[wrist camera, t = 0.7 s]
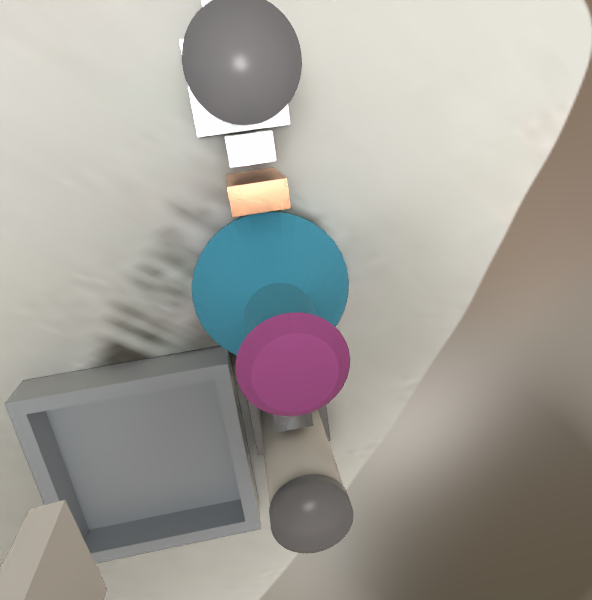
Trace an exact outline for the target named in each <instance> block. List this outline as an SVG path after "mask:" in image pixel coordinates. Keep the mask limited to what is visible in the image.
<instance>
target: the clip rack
mask: <svg viewBox="0 0 592 600" xmlns="http://www.w3.org/2000/svg"><path fill="white" fill-rule="evenodd" d="M210 1H212V0H201V3H202V7H203V6H205V5H206V4H207V3H209V2H210ZM183 41H184V39H179V43H180V48H181V53H182V47H183ZM187 85H188V84H187ZM188 90H189V95H190V101H191V106H192V111H193V116H194V122H195V127H196V132H197V137H204V136H212V135H219V134H226V133H233V132H240V131H247V130H255V129H262V128H269V127H276V126H283V125H290V116H289V108H288V104H287V106H286V107H285V108H284V109H283V110H282V111H281V112H280V113H278V114H277V115H276V116H274V117H273V118H271V119H269V120H267V121H264V122H262V123H258V124H253V125H235V124H230V123H227V122H224V121H222V120H220V119H218V118H216V117H215V116H213V115H212V114H210V113H209V112H208V111H207V110H206V109H204V108H203V107H202V106H201V104H200V103H199V102H198V101H197V100H196V98H195V97H194V95H193V94H192V92H191V90H190V88H189V86H188ZM225 142H226V148H227V154H228V160H229V165H230V168H234V167H241V166H248V165H254V164H261V163H268V162H275V161H277V160H276V153H275V145H274V138H273V131H272V130H259V131H252V132H245V133H237V134H230V135H225ZM227 190H228V196H229V202H230V207H231V213H232V217H237V216H244V215H250V214H257V213H263V212H270V211H276V210H283V209H289V208H291V205H290V197H289V190H288V182H287V178H286V177H285V176H284V175H282V174H281V173H280V172H279V171H278V170H276V169H275V168H274V167H273V168H266V169H260V170H253V171H246V172H239V173H232V174H227ZM247 400H248V399H247ZM248 405H249V410H250V415H251V421H252V426H253V431H254V436H255V442H256V447H257V452H258V455H261V454H264V449H263V440H262V432H261V423H260V418H261V414H262V411H263V410H261V409H259V408H257V407H256V406H255V405H253V404H252V403H251V402H250V401H249V400H248ZM318 411H319V414H320V417H321V420H322V423H323V426H324V430H325V433H326V436H327V439H328V441H330V434H329V426H328V418H327V410H326V405H324V406H323V407H321V408H320V409H318ZM272 415H273V421H274V427H275V433H279V432H284V431H289V430H294V429H299V428H304V427H310V426H313V419H312V412H311V413H308V414H304V415H299V416H278V415H274V414H272Z"/></svg>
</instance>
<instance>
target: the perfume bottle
mask: <svg viewBox="0 0 592 600" xmlns="http://www.w3.org/2000/svg"><path fill="white" fill-rule="evenodd" d="M348 287H349V280H348V273H347V267H346V264H345V261H344V259H343V256H342V254H341V252H340V250H339V249H338V247H337V245H336V244H335V242H334V241H333V240H332V239H331V238H330V237H329V236H328V235H327V234H326V232H325V231H324V230H322V229H321V228H319V227H318V226H316V225H315V224H313V223H312V222H310V221H308V220H306V219H303V218H301V217H299V216H296V215H294V214H289V213H284V212H279V211H270V212H263V213H257V214H250V215H245V216H243V217H241V218H238V219H236V220H234V221H232V222H231V223H229V224H228V225H226V226H225V227H223V228H222V229H220V230H219V231H218V232H217V233H216V234H215V235H214V237H213V238H212V239H211V240H210V241H209V242H208V244H207V245H206V247H205V248H204V250H203V252H202V253H201V255H200V257H199V259H198V262H197V264H196V267H195V269H194V275H193V281H192V298H193V303H194V307H195V311H196V314H197V316H198V318H199V320H200V322H201V324H202V326H203V328H204V329H205V330H206V332H207V333H208V334H209V335H210V337H211V338H212V339H213V340H214V341H215V342H217V343H218V344H219V345H220V346H221V347H223V348H224V349H226V350H228V351H229V352H231V353H233V354H235V355H237V358H236V363H235V371H236V378H237V382H238V385H239V387H240V389H241V391H242V393H243V394H244V395H245V397H246V398H247V399H248V400H249V401H250V402H251V403H252V404H253V405H255V406H256V407H257V408H259V409H261V410H263V411H265V412H267V413H271V414H274V415H278V416H299V415H304V414H308V413H311V412H313V411H315V410H318V409H320V408H321V407H323V406H324V405H326V404H328V403H329V402H330V401H331V400H332V399H333V398H334V397H335V396H336V395H337V394H338V392H339V391H340V390H341V389H342V387H343V385H344V383H345V381H346V379H347V376H348V372H349V367H350V355H349V349H348V346H347V344H346V341H345V339H344V338H343V336H342V335H341V333H340V332H339V330H338V329H336V328H335V326H336V325H337V324H338V322H339V320H340V318H341V316H342V314H343V312H344V309H345V305H346V302H347V298H348Z"/></svg>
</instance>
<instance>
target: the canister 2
mask: <svg viewBox="0 0 592 600" xmlns="http://www.w3.org/2000/svg"><path fill="white" fill-rule="evenodd" d="M312 419H313V426H310V427H304V428H299V429H294V430H289V431H284V432H279V433H275V427H274V421H273V415H272V414H271V413H267V412H265V411H262V414H261V418H260V423H261V432H262V440H263V449H264V457H265V465H266V474H267V482H268V490H269V499H270V509H269V513H270V522H271V530H272V534H273V536H274V538H275V539H276V541H277V542H278V543H279V544H280V545H282V546H283V547H284V548H286V549H288V550H291V551H294V552H298V553H315V552H319V551H323V550H326V549H328V548H330V547H332V546H334V545H335V544H337V543H338V542H339V541H341V540H342V538H344V537H345V535H346V534H347V533H348V531H349V529H350V527H351V525H352V522H353V509H352V506H351V503H350V500H349V497H348V494H347V491H346V490H345V488H344V487H343V484H342V481H341V478H340V475H339V472H338V469H337V466H336V463H335V460H334V457H333V454H332V451H331V448H330V445H329V442H328V439H327V436H326V433H325V430H324V426H323V423H322V420H321V417H320V414H319V411H318V410H315V411H313V412H312Z"/></svg>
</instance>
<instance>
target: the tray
mask: <svg viewBox="0 0 592 600" xmlns="http://www.w3.org/2000/svg"><path fill="white" fill-rule="evenodd" d="M5 406H6V409H7V411H8V414H9V416H10V419H11V421H12V424H13V426H14V429H15V432H16V434H17V437H18V439H19V442H20V444H21V447H22V449H23V452H24V454H25V457H26V459H27V462H28V464H29V467H30V469H31V472H32V475H33V477H34V480H35V482H36V485H37V487H38V490H39V492H40V495H41V497H42V500H43V502H44V505H47V504H51V503H54V502H58V501H62V500H66V503H67V505H68V507H69V509H70V511H71V513H72V515H73V518H74V520H75V522H76V524H77V526H78V528H79V530H80V532H81V535H82V537H83V539H84V541H85V543H86V545H87V547H88V549H89V552H90V554H91V556H92V558H93V560H94V562H95V564H96V563H101V562H106V561H110V560H115V559H120V558H125V557H129V556H134V555H139V554H144V553H149V552H153V551H158V550H163V549H168V548H172V547H177V546H182V545H187V544H192V543H196V542H201V541H206V540H211V539H215V538H220V537H225V536H230V535H235V534H239V533H244V532H249V531H254V530H258V529H261V524H260V513H259V502H258V496H257V491H256V486H255V481H254V476H253V471H252V466H251V461H250V456H249V451H248V446H247V440H246V435H245V430H244V425H243V420H242V415H241V410H240V405H239V400H238V395H237V390H236V385H235V380H234V375H233V370H232V365H231V360H230V355H229V351H228V350H226V349H224V348H223V347H221V346H216V347H210V348H205V349H199V350H193V351H188V352H182V353H176V354H171V355H165V356H159V357H154V358H148V359H142V360H137V361H131V362H125V363H120V364H114V365H108V366H103V367H97V368H91V369H86V370H80V371H74V372H69V373H63V374H57V375H52V376H46V377H40V378H35V379H29V380H23V381H22V383H21V384H20V385H19V386H18V388H17V389H16V390H15V391H14V393H13V394H12V395H11V396H10V398H9V399H8V400H7V401H6V403H5Z"/></svg>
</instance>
